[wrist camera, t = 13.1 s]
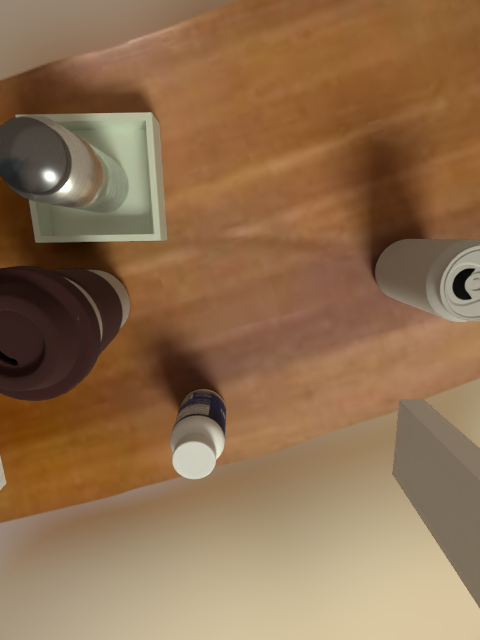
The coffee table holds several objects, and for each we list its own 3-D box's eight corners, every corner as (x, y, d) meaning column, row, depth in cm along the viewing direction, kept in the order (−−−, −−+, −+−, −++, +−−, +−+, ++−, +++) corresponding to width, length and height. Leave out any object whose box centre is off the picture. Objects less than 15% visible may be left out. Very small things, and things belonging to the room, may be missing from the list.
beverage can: (373, 240, 36) (439, 241, 24) (434, 237, 36) (530, 237, 24) (370, 299, 37) (431, 328, 26) (429, 297, 37) (516, 324, 26)
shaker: (76, 213, 34) (-6, 201, 23) (69, 154, 33) (-23, 109, 21) (131, 212, 34) (76, 200, 23) (125, 153, 33) (65, 108, 21)
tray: (52, 242, 35) (35, 242, 32) (35, 125, 33) (15, 114, 30) (167, 240, 36) (160, 240, 33) (159, 123, 33) (151, 112, 30)
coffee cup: (117, 241, 36) (34, 244, 21) (159, 325, 38) (110, 381, 23) (35, 278, 36) (-100, 306, 22) (80, 358, 39) (-15, 432, 24)
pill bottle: (229, 426, 41) (226, 483, 31) (184, 431, 41) (169, 489, 31) (223, 385, 40) (219, 431, 30) (177, 390, 40) (159, 438, 30)
